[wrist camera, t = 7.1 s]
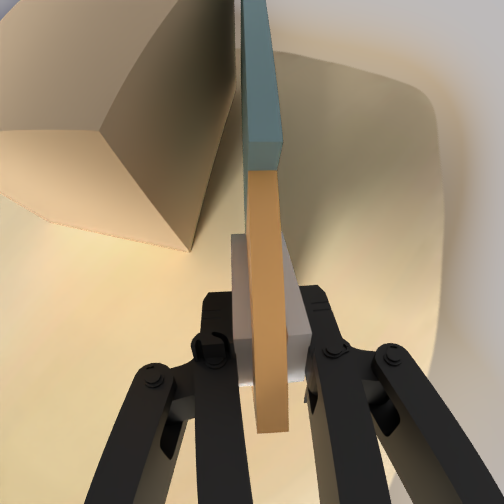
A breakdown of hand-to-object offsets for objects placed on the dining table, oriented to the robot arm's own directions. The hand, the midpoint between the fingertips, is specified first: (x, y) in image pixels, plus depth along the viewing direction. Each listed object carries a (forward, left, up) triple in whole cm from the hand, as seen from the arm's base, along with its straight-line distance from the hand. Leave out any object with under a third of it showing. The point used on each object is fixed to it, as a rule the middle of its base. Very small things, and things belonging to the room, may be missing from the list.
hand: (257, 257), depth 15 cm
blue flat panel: (-3, +4, -3) cm, 5 cm away
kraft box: (-12, +3, -5) cm, 13 cm away
